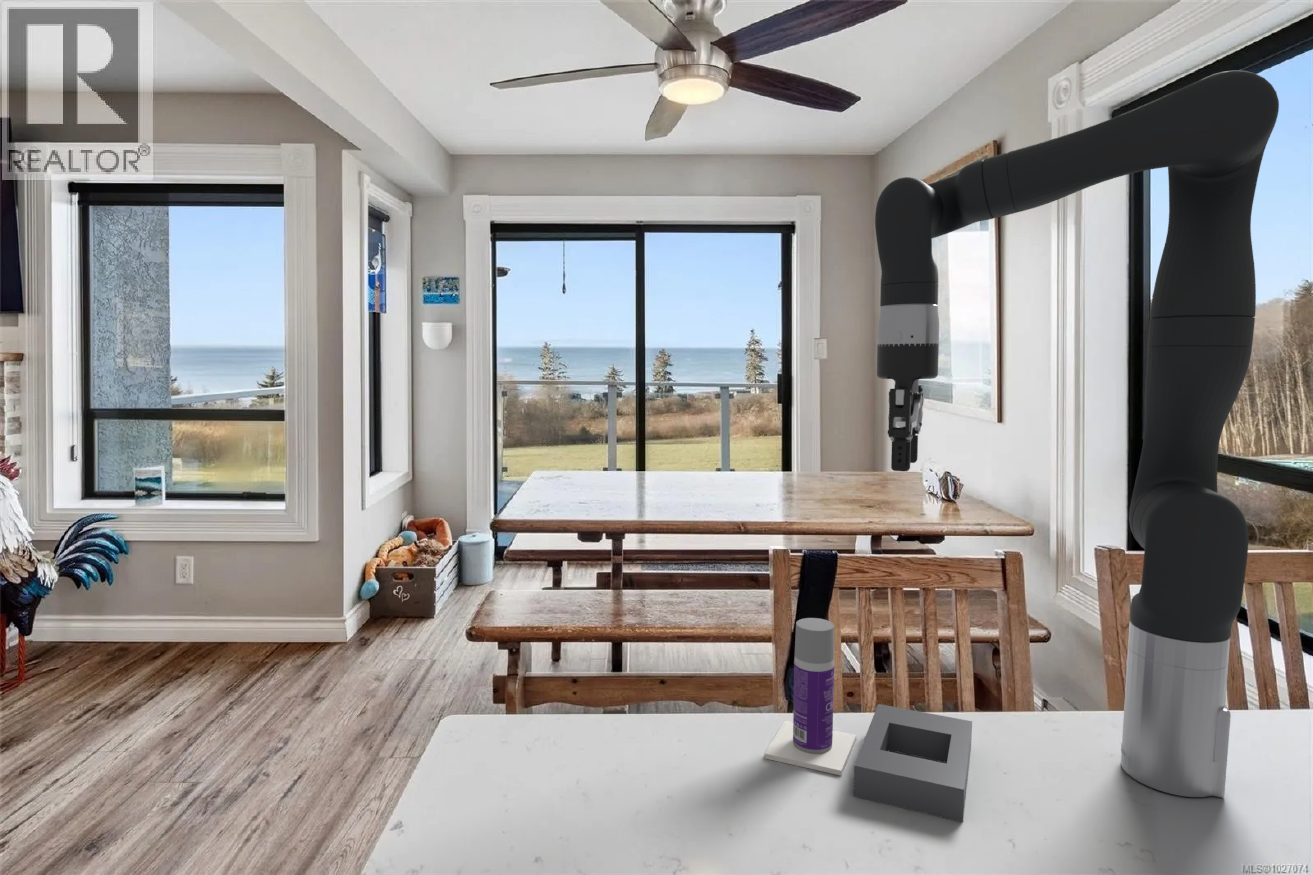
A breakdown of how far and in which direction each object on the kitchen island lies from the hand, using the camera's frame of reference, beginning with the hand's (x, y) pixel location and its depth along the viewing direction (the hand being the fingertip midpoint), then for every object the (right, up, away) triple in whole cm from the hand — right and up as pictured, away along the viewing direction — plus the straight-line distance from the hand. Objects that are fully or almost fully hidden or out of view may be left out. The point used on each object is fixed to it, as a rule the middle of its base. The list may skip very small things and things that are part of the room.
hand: (904, 466), depth 99 cm
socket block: (-3, -34, -12) cm, 37 cm away
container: (-14, -34, -7) cm, 37 cm away
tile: (-14, -34, -7) cm, 37 cm away
